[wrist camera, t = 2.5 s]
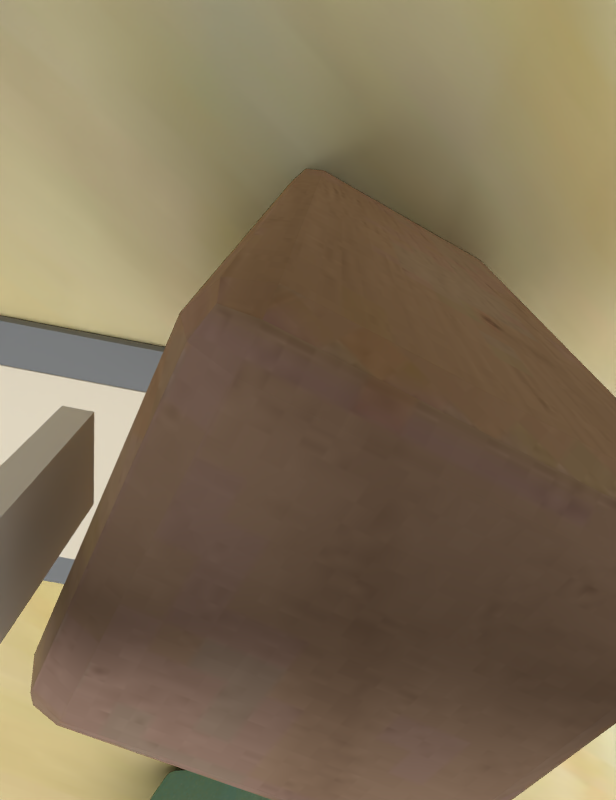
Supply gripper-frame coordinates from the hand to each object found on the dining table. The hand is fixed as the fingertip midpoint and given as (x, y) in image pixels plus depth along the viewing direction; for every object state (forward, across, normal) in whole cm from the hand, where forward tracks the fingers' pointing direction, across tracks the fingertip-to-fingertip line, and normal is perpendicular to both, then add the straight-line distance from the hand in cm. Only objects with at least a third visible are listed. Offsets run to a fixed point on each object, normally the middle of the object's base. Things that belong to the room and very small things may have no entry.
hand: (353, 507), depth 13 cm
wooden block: (+15, 0, 0) cm, 15 cm away
